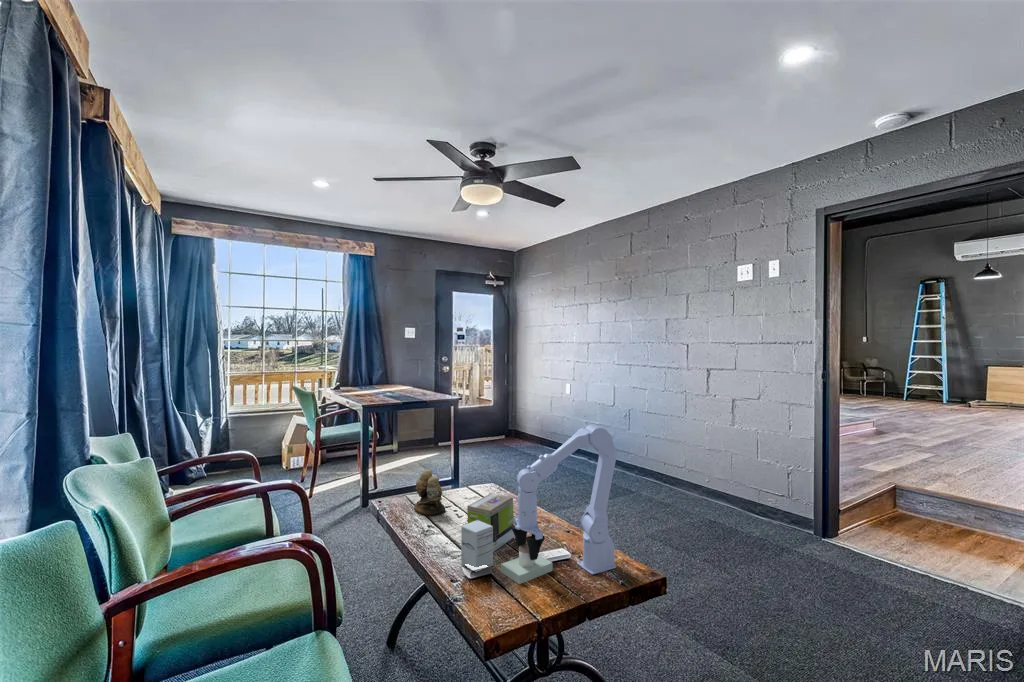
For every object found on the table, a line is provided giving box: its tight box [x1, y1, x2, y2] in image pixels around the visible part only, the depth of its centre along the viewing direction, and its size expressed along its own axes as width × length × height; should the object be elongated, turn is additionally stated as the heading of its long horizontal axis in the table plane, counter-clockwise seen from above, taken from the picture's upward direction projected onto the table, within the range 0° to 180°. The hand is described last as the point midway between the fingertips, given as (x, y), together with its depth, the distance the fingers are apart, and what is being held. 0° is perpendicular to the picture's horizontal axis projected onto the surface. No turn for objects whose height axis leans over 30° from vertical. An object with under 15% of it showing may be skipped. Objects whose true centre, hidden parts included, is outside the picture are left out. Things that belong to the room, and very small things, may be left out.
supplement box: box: [460, 520, 494, 567], centre depth 149 cm, size 7×7×13 cm
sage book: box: [500, 554, 554, 585], centre depth 145 cm, size 13×9×3 cm
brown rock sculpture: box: [413, 469, 446, 517], centre depth 198 cm, size 18×12×17 cm, turn 34°
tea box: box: [466, 493, 515, 553], centre depth 165 cm, size 15×10×15 cm, turn 149°
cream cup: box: [518, 543, 535, 568], centre depth 145 cm, size 5×5×5 cm
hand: (527, 554), depth 145 cm, fingers open, 7 cm apart
